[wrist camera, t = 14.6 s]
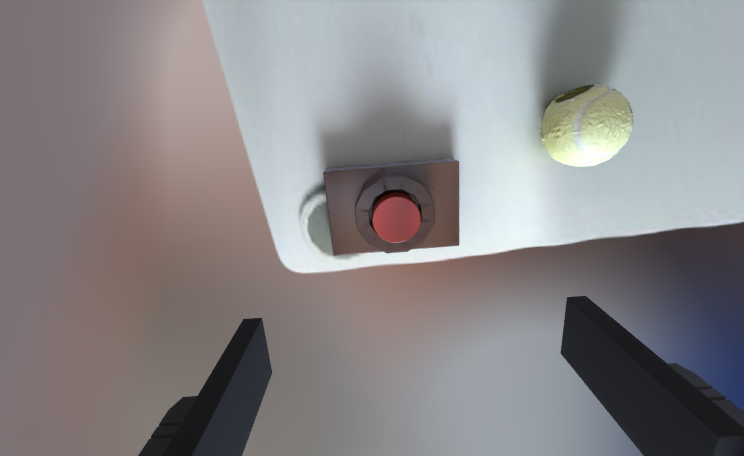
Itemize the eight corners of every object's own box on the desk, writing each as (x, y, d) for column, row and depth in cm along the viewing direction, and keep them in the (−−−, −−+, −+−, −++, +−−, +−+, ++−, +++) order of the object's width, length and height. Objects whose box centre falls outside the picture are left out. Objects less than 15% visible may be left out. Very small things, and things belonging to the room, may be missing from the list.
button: (374, 237, 32) (374, 244, 30) (370, 194, 30) (370, 198, 29) (418, 234, 32) (421, 241, 30) (416, 190, 30) (419, 194, 29)
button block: (335, 247, 36) (331, 263, 32) (325, 168, 33) (320, 175, 30) (453, 238, 36) (464, 253, 32) (453, 158, 33) (464, 163, 29)
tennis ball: (602, 148, 33) (659, 157, 27) (532, 172, 34) (571, 185, 27) (593, 78, 31) (651, 69, 25) (519, 104, 32) (557, 102, 25)
